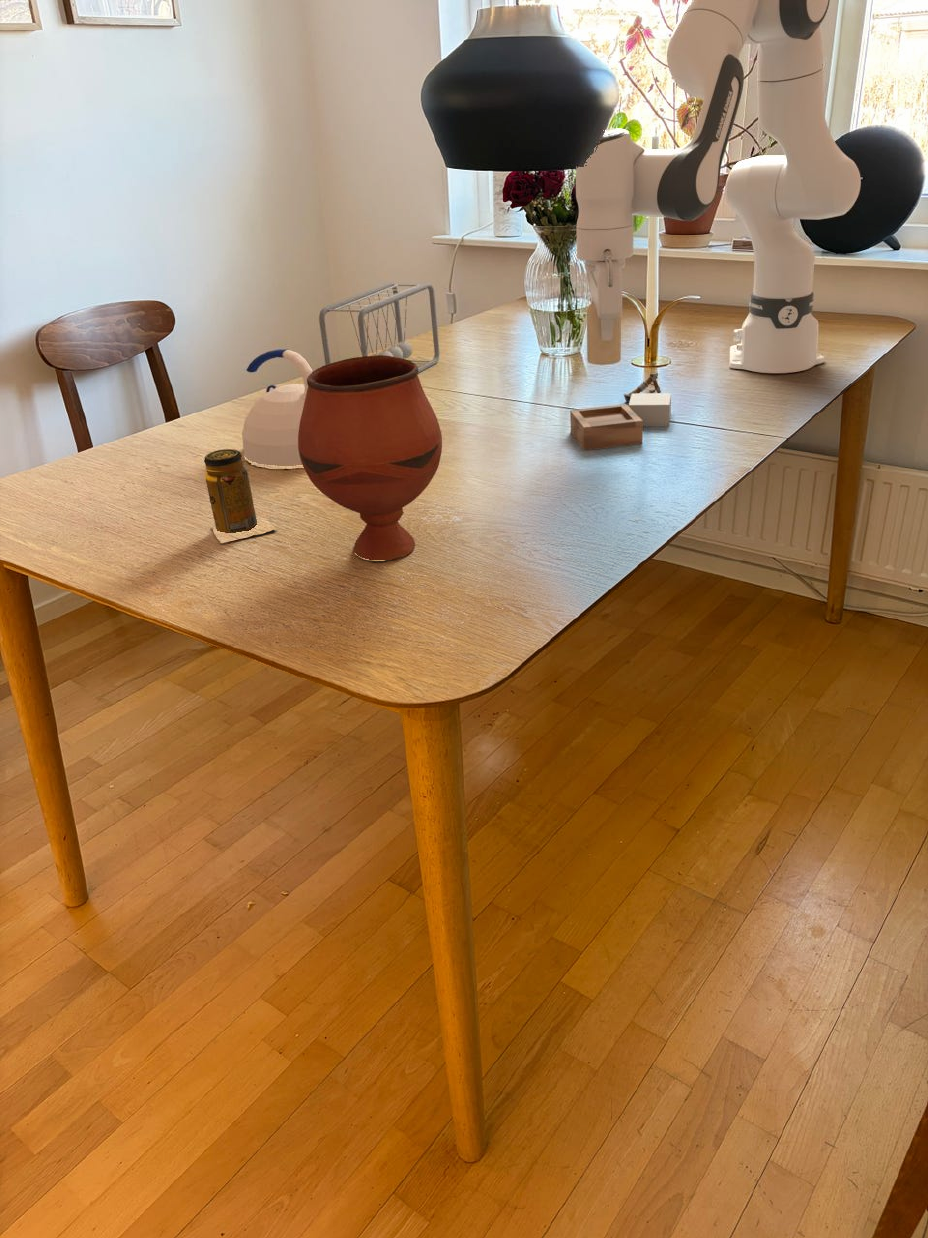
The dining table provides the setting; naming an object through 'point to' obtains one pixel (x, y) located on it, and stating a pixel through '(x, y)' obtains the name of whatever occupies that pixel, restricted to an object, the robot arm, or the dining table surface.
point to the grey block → (652, 408)
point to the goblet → (370, 445)
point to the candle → (596, 347)
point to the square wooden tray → (606, 427)
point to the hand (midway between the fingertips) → (605, 334)
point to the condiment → (229, 491)
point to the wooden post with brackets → (645, 384)
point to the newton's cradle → (403, 347)
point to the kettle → (276, 416)
